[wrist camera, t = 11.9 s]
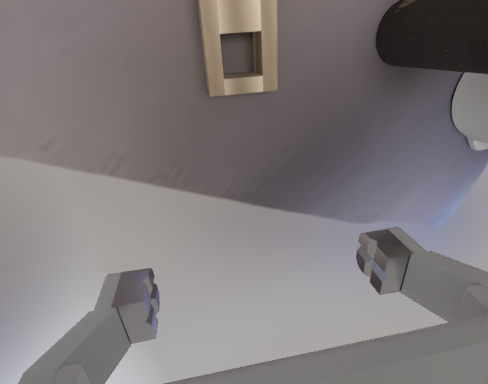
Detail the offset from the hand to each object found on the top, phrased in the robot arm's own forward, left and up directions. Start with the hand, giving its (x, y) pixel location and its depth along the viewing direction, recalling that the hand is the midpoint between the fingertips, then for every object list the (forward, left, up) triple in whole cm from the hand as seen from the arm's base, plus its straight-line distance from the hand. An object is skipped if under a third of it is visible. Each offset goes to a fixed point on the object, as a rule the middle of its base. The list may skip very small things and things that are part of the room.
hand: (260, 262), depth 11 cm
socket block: (-4, -10, -31) cm, 33 cm away
